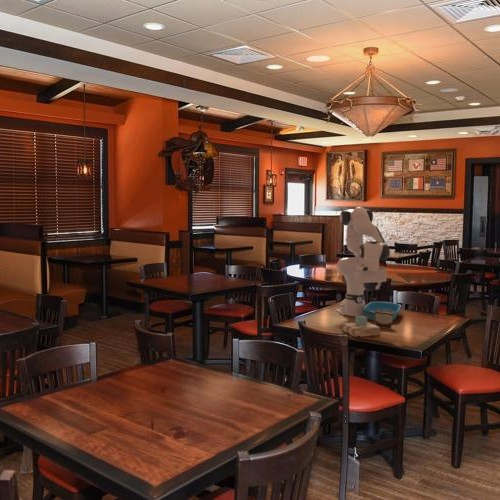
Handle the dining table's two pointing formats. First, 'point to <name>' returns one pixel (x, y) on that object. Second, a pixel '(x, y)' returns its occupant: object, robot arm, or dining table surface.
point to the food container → (384, 318)
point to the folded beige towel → (360, 329)
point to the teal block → (361, 320)
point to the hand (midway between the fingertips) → (370, 289)
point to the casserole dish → (374, 306)
